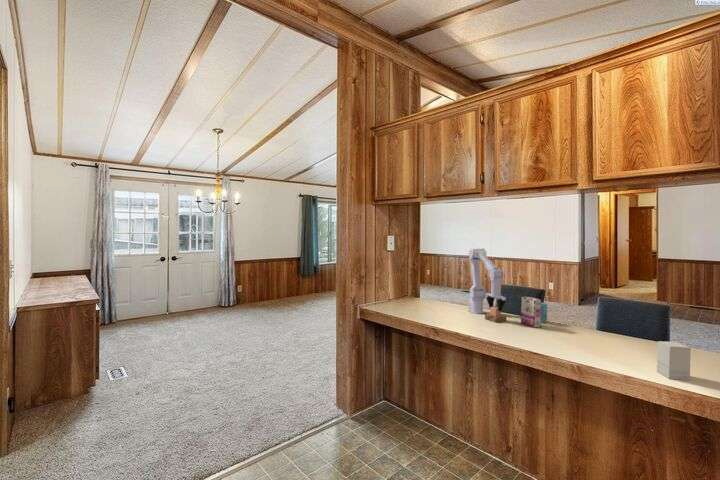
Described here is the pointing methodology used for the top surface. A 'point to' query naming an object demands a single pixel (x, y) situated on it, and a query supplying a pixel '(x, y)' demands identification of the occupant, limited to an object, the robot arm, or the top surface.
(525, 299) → the candy bar box
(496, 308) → the terracotta block
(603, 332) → the top surface
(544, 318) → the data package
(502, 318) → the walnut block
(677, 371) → the supplement box
